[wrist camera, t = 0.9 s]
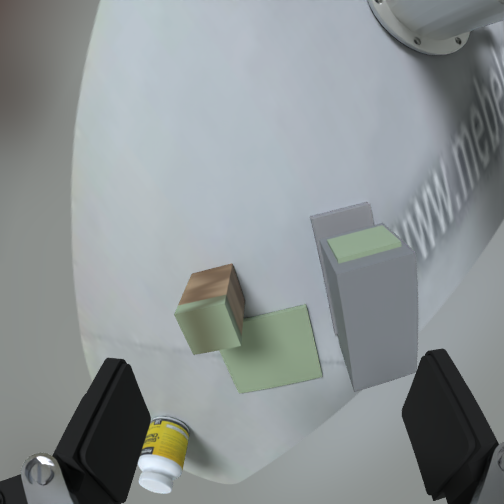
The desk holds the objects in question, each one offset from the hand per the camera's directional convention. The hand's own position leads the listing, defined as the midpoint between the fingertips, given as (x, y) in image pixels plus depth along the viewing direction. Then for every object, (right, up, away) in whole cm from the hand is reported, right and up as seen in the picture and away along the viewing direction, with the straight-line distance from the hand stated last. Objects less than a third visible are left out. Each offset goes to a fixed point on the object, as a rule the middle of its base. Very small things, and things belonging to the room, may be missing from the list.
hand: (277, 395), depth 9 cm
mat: (+1, -8, +28) cm, 29 cm away
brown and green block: (-4, +1, +25) cm, 25 cm away
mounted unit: (+10, +2, +24) cm, 26 cm away
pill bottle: (-14, -23, +35) cm, 44 cm away
